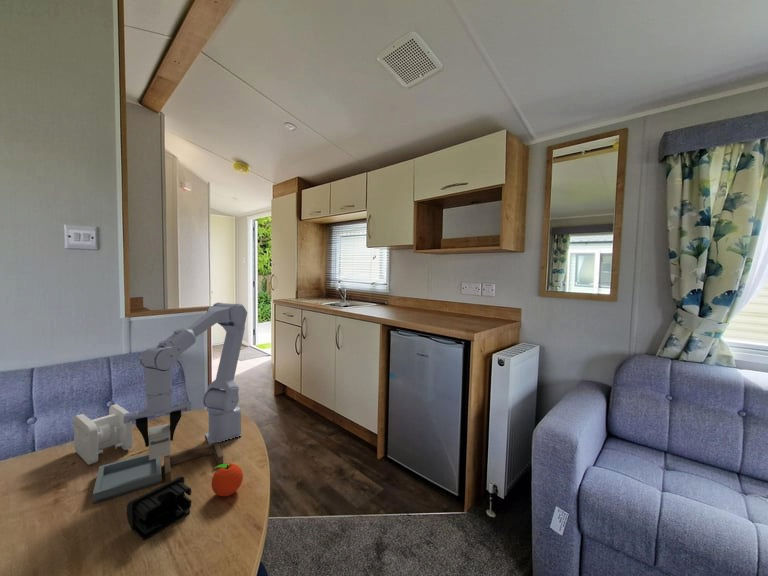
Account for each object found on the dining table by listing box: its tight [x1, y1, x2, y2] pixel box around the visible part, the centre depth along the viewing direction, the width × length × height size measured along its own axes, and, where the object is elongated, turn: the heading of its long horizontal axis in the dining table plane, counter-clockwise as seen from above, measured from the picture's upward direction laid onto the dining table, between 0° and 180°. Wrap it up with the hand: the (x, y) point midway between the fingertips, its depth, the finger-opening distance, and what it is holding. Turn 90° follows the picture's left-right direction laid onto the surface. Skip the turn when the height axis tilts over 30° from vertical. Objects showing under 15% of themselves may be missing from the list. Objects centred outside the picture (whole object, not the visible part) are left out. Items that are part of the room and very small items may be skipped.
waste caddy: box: [148, 422, 171, 460], centre depth 83 cm, size 4×7×6 cm, turn 37°
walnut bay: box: [163, 442, 224, 484], centre depth 88 cm, size 13×9×2 cm
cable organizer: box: [72, 403, 133, 465], centre depth 93 cm, size 15×11×12 cm
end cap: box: [126, 476, 193, 541], centre depth 69 cm, size 10×7×7 cm
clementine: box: [211, 463, 244, 497], centre depth 77 cm, size 8×7×7 cm
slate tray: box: [92, 452, 162, 505], centre depth 82 cm, size 13×13×2 cm
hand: (159, 442), depth 84 cm, fingers open, 4 cm apart
